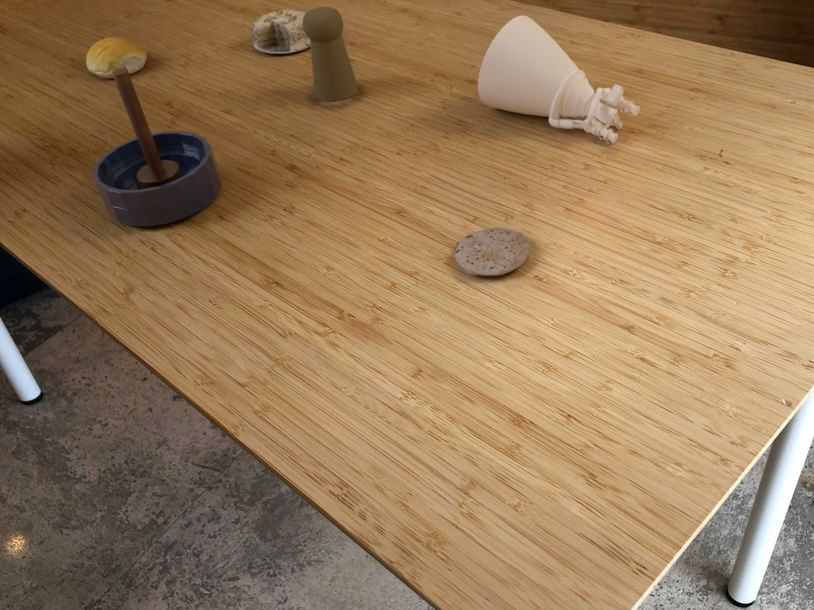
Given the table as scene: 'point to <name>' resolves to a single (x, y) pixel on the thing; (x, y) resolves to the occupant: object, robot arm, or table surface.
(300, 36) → the cake
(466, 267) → the flatbread
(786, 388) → the table surface
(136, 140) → the bowl
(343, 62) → the olive game pawn
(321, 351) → the table surface
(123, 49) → the bread roll
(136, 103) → the brown pestle
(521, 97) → the rocket engine
